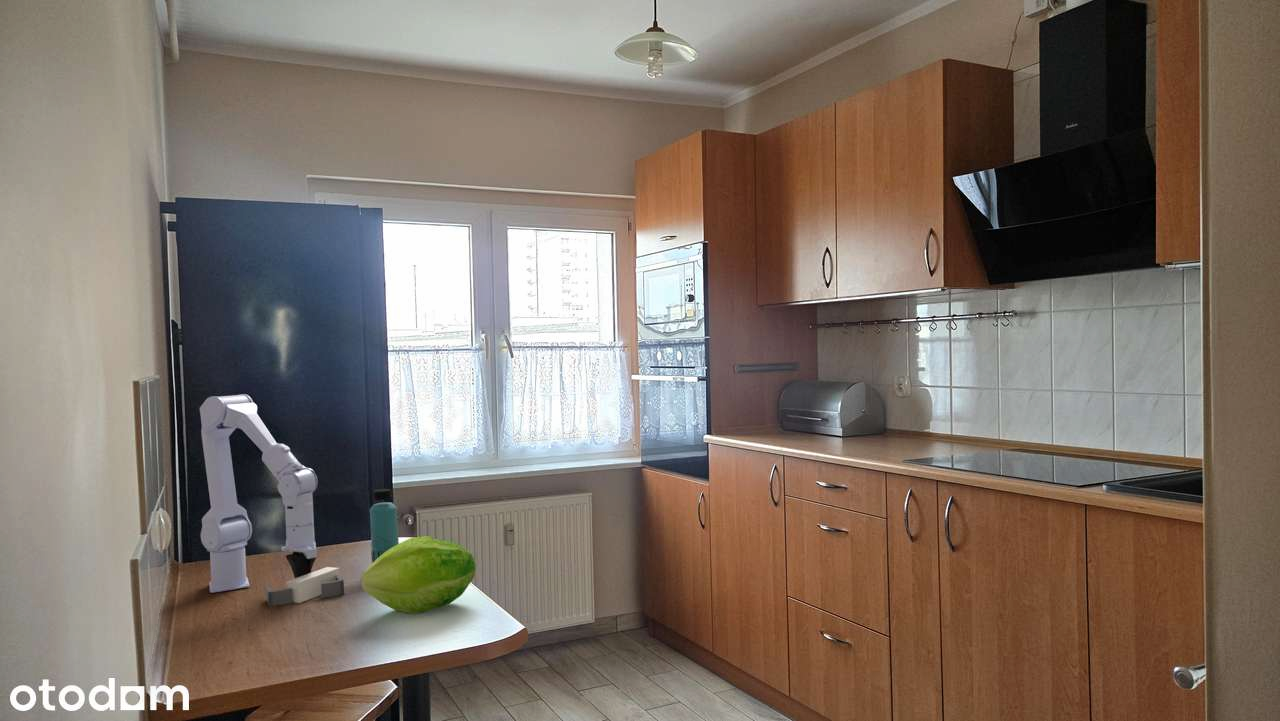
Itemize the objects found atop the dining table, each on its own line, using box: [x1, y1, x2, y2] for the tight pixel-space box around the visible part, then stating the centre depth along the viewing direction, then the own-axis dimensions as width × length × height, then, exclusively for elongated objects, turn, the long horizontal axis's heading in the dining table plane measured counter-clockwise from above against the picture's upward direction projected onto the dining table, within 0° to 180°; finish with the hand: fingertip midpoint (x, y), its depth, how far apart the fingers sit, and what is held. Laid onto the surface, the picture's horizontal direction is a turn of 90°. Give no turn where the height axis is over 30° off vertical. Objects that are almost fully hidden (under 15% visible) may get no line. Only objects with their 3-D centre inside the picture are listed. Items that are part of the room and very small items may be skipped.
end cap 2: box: [321, 575, 345, 599], centre depth 182 cm, size 6×4×3 cm
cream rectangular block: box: [285, 566, 341, 604], centre depth 182 cm, size 4×12×4 cm, turn 158°
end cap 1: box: [265, 585, 293, 608], centre depth 177 cm, size 6×4×3 cm
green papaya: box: [360, 535, 477, 614], centre depth 167 cm, size 15×23×16 cm
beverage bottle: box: [369, 488, 400, 564], centre depth 197 cm, size 6×7×20 cm
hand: (302, 585), depth 184 cm, fingers closed
